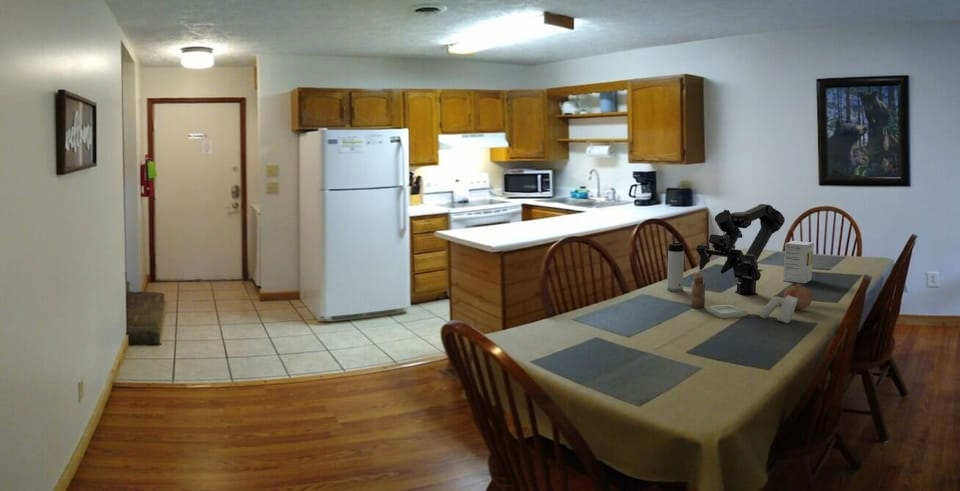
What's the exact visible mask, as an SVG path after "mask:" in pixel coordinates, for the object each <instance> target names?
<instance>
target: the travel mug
mask: <svg viewBox="0 0 960 491" xmlns="http://www.w3.org/2000/svg"><path fill="white" fill-rule="evenodd" d="M685 245H686V243H685V242H684V241H683V242H673V243H669V244H668V250H667V254H668V256H667V277H666V278H667V281H666V282H667V284H666V289H667V291H668V292H669V291H670V292H682V291H683V290H684V288H683V286H684V263H685V262H684V261H685V260H684V259H685V249H684V248H685Z"/></svg>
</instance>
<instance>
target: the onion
mask: <svg viewBox="0 0 960 491" xmlns="http://www.w3.org/2000/svg"><path fill="white" fill-rule="evenodd" d="M788 295H789V296H792V297H795V298H798V301H797V304H796V307H795V310H794V311H801V310H805V309H806V308H808V307H810V306H811V303H812V301H813V296H812V293H811V292H810V290H809V289H808V288H806V287H804V286H803V285H802V283H796V284H793V285H791V286H789V287H788V288H787V289H785V291H784V293H783V300H784V299H785V298H786V297H787V296H788Z"/></svg>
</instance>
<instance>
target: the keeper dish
mask: <svg viewBox="0 0 960 491" xmlns="http://www.w3.org/2000/svg"><path fill="white" fill-rule="evenodd" d="M705 312H707V313H710V314H711V315H714V316H716V317H718V318H720V319H729V318H741V317H747V316H748V311H747V310H746V309H745V310H744V309H742V308H740V307H738V306H735V305H733V304H720V305H710V306H709V305H708V306H706V310H705Z"/></svg>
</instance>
